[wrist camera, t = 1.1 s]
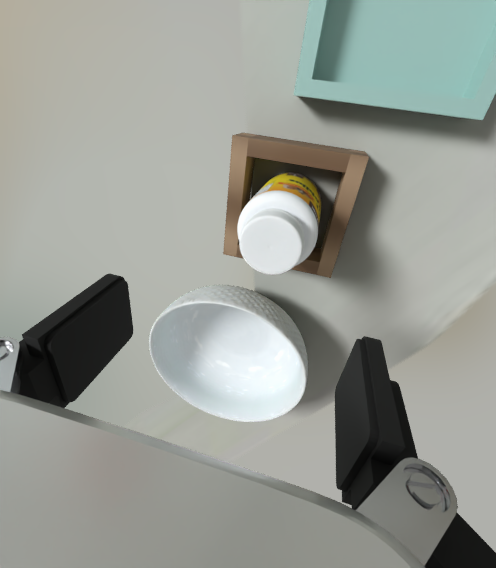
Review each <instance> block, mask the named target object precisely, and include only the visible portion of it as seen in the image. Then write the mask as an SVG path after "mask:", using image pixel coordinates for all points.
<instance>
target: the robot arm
mask: <svg viewBox="0 0 496 568" xmlns="http://www.w3.org/2000/svg"><path fill="white" fill-rule="evenodd" d="M132 334H133V325H132V316H131V308H130V300H129V291H128V284H127V282H126V281H125V280H124V278H123V277H121V276H117V275H113V274H107V275H105V276H104V277H102V278H101V279H100V280H98V281H97V282H95V283H94V284H92V285H91V286H90V287H88V288H87V289H85V290H84V291H83V292H81V293H80V294H78V295H77V296H76V297H74V298H73V299H71V300H70V301H69V302H67V303H66V304H65V305H63V306H62V307H60V308H59V309H57V310H56V311H55V312H53V313H52V314H50V315H49V316H48V317H46V318H45V319H43V320H42V321H41V322H39V323H38V324H36V325H35V326H34V327H32V328H31V329H30V330H28V331H27V332H25V333H24V334H22V336H23V340H22V341H20V342H18V341H17V340H16V339H14V338H11V337H0V568H496V553H495V552H494V551H493V550H492V549H491V548H490V547H489V545H487V543H486V542H485V541H484V540H483V539H482V538H481V537H480V536H479V535H478V534H477V533H476V532H475V531H474V530H473V529H472V528H471V527H470V526H469V525H468V524H467V523H466V521H465V520H464V519H463V518H462V517H461V516H460V515H459V514H458V513H457V508H458V506H457V498H456V495H455V493H454V490H453V488H452V487H451V485H450V484H449V482H448V480H447V479H446V478H445V477H444V476H443V475H442V474H441V473H440V472H439V470H437V469H436V468H435V467H433V466H432V465H431V464H429V463H427V462H425V461H423V460H421V459H418V457H417V453H416V449H415V445H414V441H413V437H412V433H411V429H410V426H409V422H408V418H407V414H406V410H405V406H404V402H403V398H402V394H401V391H400V387H399V384H398V383H397V382H395V381H391V380H390V378H389V374H388V369H387V365H386V360H385V356H384V351H383V347H382V343H381V341H380V340H378V339H374V338H369V337H365V336H364V337H363V338H362V340H361V339H357V340H356V342H355V344H354V346H353V349H352V351H351V353H350V356H349V358H348V360H347V363H346V365H345V367H344V370H343V372H342V374H341V377H340V379H339V382H338V384H337V386H336V390H335V430H336V431H335V433H336V484H337V488H338V489H340V490H342V502H344V503H347V504H350V505H352V508H349V507H348V506H346V505H344V504H342V503H340V502H337V501H335V500H332V499H330V498H328V497H325V496H322V495H320V494H318V493H315V492H313V491H310V490H307V489H304V488H301V487H299V486H296V485H293V484H290V483H287V482H285V481H282V480H279V479H276V478H273V477H270V476H268V475H265V474H262V473H259V472H256V471H253V470H250V469H247V468H244V467H241V466H238V465H235V464H232V463H229V462H226V461H223V460H220V459H217V458H214V457H211V456H208V455H205V454H202V453H199V452H196V451H193V450H190V449H187V448H184V447H181V446H178V445H175V444H172V443H169V442H166V441H163V440H160V439H157V438H154V437H151V436H148V435H145V434H142V433H138V432H135V431H132V430H129V429H126V428H123V427H120V426H117V425H114V424H111V423H108V422H105V421H102V420H99V419H95V418H92V417H89V416H86V415H83V414H80V413H77V412H74V411H71V410H68V409H65V407H66V406H67V405H68V403H69V402H73V401H75V400H76V399H77V398H78V396H79V395H80V394H81V393H82V392H83V391H84V390H85V389H86V388H87V386H88V385H89V384H90V383H91V382H92V381H93V380H94V379H95V378H96V376H97V375H98V374H99V373H100V372H101V371H102V370H103V369H104V367H105V366H106V365H107V364H108V363H109V362H110V361H111V360H112V359H113V357H114V356H115V355H116V354H117V353H118V352H119V351H120V349H121V348H122V347H123V346H124V345H125V344H126V343H127V342H128V341H129V339H130V338H131V337H132Z"/></svg>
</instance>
